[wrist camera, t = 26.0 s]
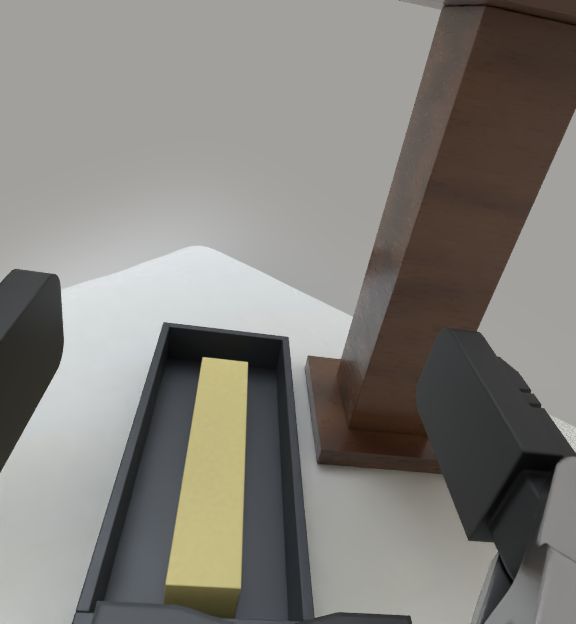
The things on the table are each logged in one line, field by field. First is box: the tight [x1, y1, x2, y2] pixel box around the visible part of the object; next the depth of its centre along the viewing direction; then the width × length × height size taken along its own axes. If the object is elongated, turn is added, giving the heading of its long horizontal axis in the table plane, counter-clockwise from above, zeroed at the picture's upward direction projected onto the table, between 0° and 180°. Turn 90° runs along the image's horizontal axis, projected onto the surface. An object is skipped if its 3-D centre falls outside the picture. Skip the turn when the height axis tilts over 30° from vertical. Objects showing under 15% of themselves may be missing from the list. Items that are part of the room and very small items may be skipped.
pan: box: [72, 322, 314, 624], centre depth 35 cm, size 25×11×4 cm, turn 3°
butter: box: [164, 357, 248, 618], centre depth 34 cm, size 19×4×3 cm, turn 3°
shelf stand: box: [305, 0, 576, 474], centre depth 36 cm, size 14×12×33 cm
